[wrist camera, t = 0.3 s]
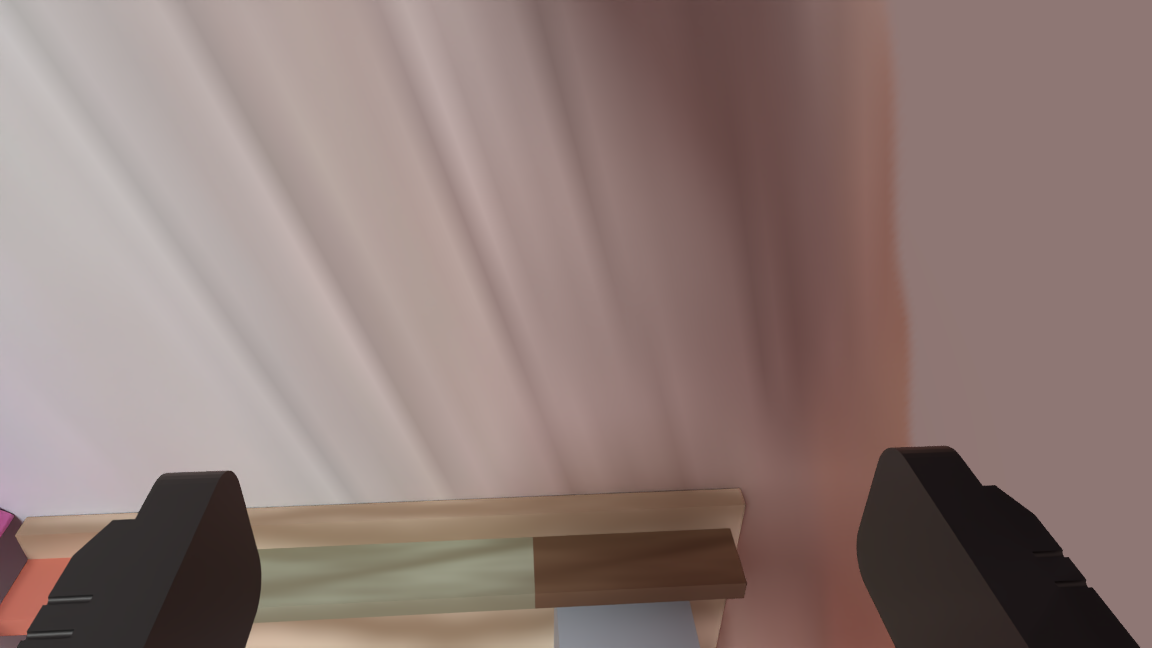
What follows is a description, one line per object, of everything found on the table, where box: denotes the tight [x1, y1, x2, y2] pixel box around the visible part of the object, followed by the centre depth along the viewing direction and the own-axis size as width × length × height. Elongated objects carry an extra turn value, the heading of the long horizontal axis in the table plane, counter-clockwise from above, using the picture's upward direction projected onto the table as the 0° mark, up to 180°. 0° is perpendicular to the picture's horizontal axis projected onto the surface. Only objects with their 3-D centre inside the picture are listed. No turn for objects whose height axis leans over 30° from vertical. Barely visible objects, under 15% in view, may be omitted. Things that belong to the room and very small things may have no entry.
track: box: [15, 488, 747, 648], centre depth 37 cm, size 14×31×4 cm, turn 89°
